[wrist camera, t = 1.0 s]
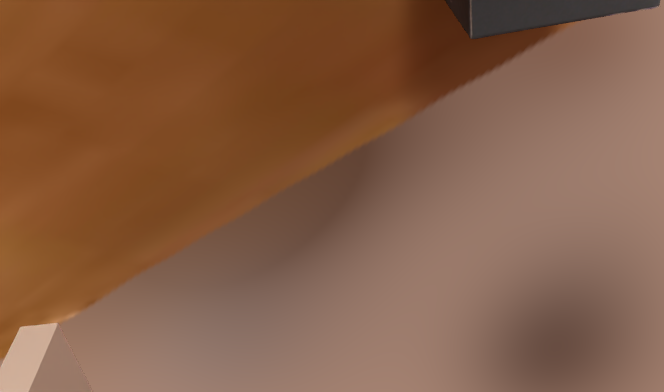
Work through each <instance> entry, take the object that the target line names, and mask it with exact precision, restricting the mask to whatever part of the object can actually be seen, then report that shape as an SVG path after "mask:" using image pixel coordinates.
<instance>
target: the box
mask: <svg viewBox="0 0 664 392" xmlns="http://www.w3.org/2000/svg"><path fill="white" fill-rule="evenodd" d="M445 1H446V3H447V4H448V6H449V7H450V9H451V10H452V11H453V13H454V15H455V16H456V18H457V19H458V21H459V22H460V23H461V25H462V27H463V28H464V30H465V31H466V32H467V33H468V35H469V37H470V38H471V39H477V38H483V37H488V36H494V35H500V34H505V33H511V32H517V31H522V30H528V29H534V28H540V27H546V26H551V25H557V24H563V23H569V22H575V21H581V20H586V19H592V18H598V17H604V16H610V15H615V14H621V13H627V12H632V11H639V10H645V9H652V8H657V7H659V5H660V0H445Z"/></svg>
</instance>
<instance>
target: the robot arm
mask: <svg viewBox="0 0 664 392" xmlns="http://www.w3.org/2000/svg"><path fill="white" fill-rule="evenodd" d="M0 392H93V391H92V389H91V387H90V385H89V383H88V381H87V379H86V377H85V375H84V373H83V371H82V369H81V367H80V365H79V363H78V361H77V359H76V357H75V355H74V353H73V351H72V349H71V347H70V345H69V343H68V341H67V339H66V337H65V335H64V333H63V331H62V329H61V327H60V325H59V323H51V324H42V325H33V326H24V327H20V329H19V331H18V333H17V335H16V337H15V339H14V341H13V343H12V345H11V347H10V349H9V351H8V353H7V355H6V357H5V359H4V361H3V363H2V365H1V367H0Z"/></svg>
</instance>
